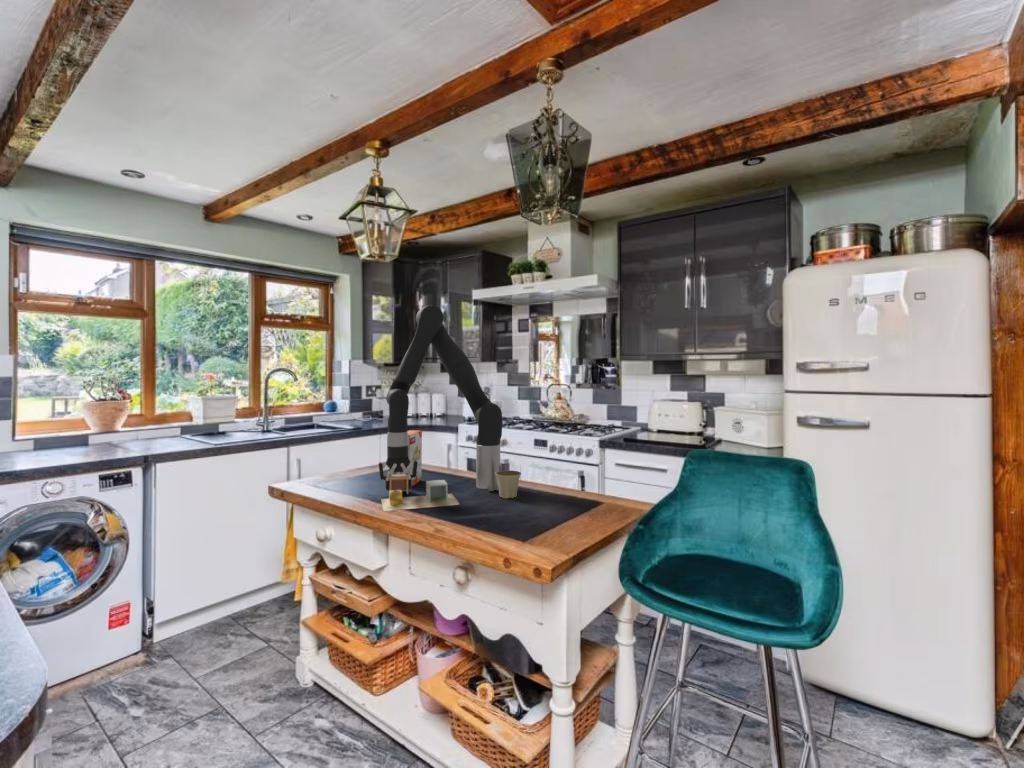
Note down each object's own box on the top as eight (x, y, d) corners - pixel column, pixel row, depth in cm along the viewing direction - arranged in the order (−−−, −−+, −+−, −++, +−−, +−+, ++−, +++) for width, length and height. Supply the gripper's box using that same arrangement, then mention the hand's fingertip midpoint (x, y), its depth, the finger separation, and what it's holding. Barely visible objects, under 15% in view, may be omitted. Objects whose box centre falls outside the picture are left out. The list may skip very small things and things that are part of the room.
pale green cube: (444, 496, 183) (444, 479, 183) (447, 501, 177) (447, 483, 177) (426, 497, 181) (426, 481, 181) (428, 502, 175) (428, 485, 175)
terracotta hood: (406, 489, 191) (406, 473, 191) (408, 494, 185) (408, 477, 185) (388, 491, 189) (388, 475, 189) (390, 495, 183) (389, 478, 183)
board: (451, 496, 188) (451, 493, 188) (460, 507, 173) (460, 504, 173) (380, 501, 180) (380, 499, 180) (383, 514, 166) (383, 511, 166)
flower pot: (522, 493, 192) (522, 470, 191) (520, 500, 182) (520, 476, 182) (497, 492, 192) (497, 469, 192) (493, 499, 183) (493, 475, 183)
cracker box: (410, 489, 198) (410, 434, 197) (395, 488, 199) (395, 434, 198) (422, 480, 212) (422, 429, 211) (408, 480, 213) (408, 429, 212)
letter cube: (401, 501, 178) (400, 489, 177) (402, 504, 174) (402, 492, 174) (389, 502, 176) (388, 490, 176) (390, 505, 172) (389, 492, 172)
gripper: (416, 441, 192) (417, 486, 193) (376, 443, 188) (377, 489, 189) (419, 444, 185) (419, 490, 186) (377, 446, 181) (378, 494, 181)
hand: (398, 489), depth 187 cm, fingers closed on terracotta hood, 6 cm apart
